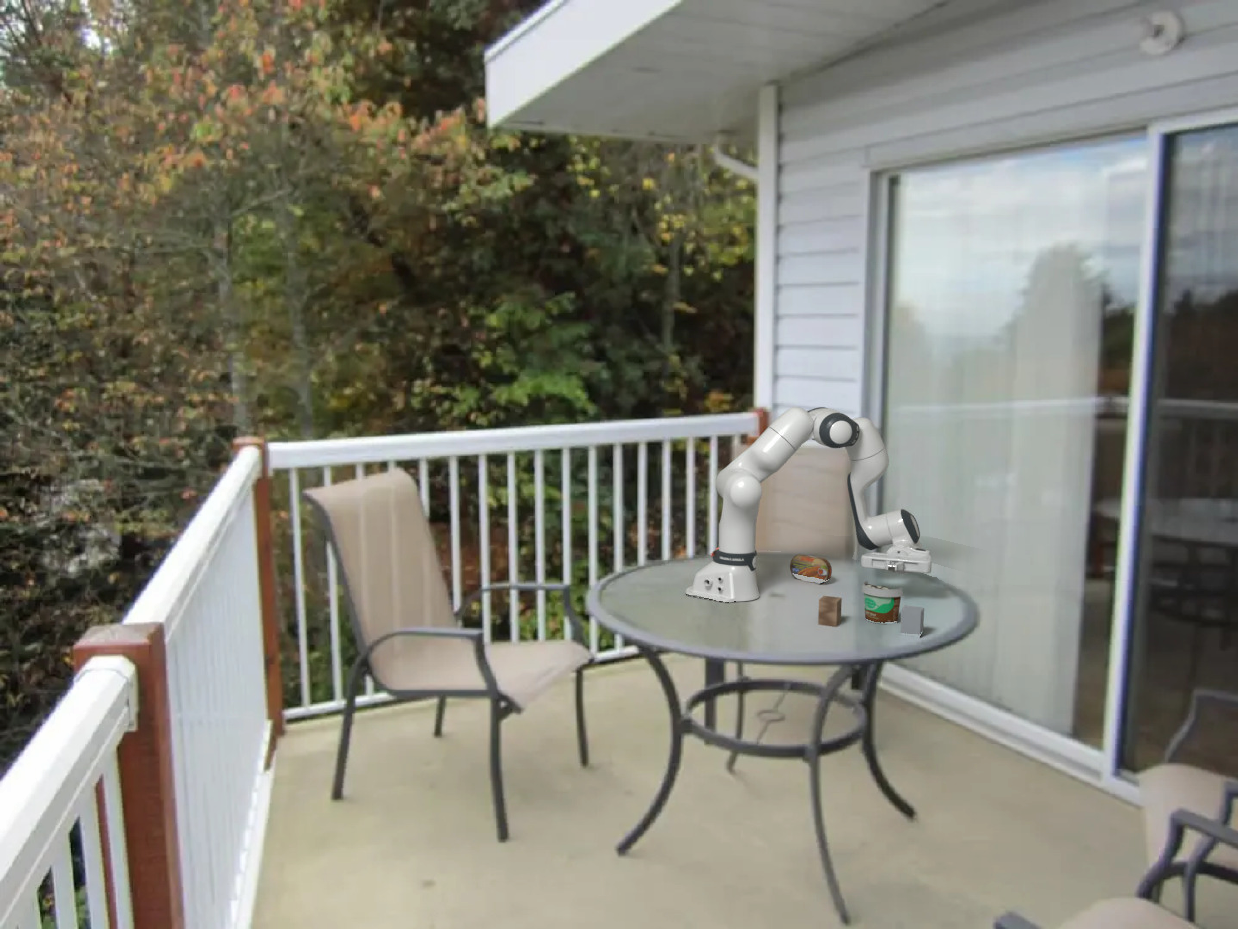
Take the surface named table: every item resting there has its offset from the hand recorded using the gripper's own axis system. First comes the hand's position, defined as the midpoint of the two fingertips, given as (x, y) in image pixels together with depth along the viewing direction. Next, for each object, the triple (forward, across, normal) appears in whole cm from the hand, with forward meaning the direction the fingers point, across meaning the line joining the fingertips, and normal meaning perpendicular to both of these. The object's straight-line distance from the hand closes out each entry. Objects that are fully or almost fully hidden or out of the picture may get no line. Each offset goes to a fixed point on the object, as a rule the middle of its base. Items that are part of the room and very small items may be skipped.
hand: (891, 568), depth 285 cm
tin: (-20, -30, +12) cm, 38 cm away
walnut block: (+25, -12, +11) cm, 30 cm away
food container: (+17, -1, +12) cm, 20 cm away
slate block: (+25, +10, +12) cm, 29 cm away
